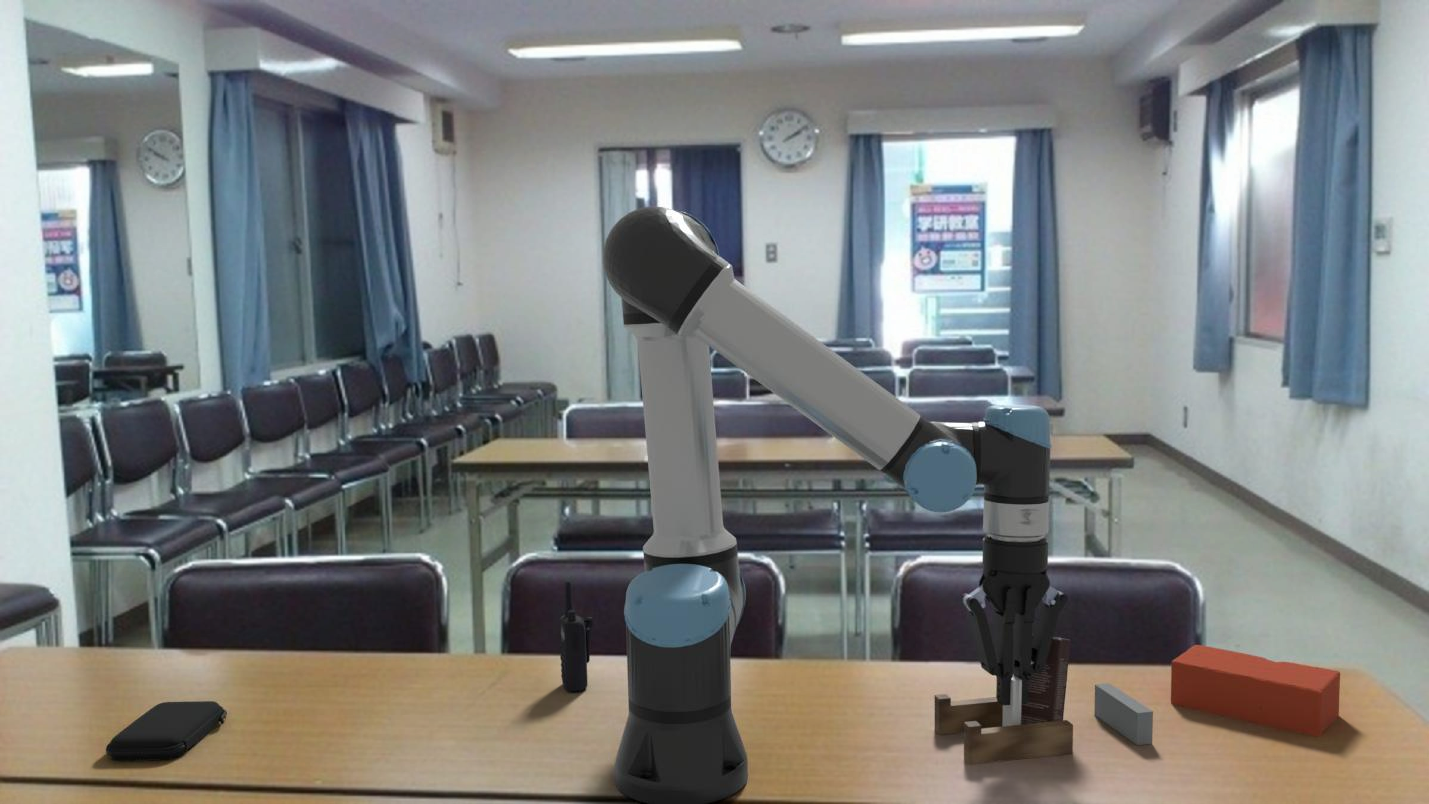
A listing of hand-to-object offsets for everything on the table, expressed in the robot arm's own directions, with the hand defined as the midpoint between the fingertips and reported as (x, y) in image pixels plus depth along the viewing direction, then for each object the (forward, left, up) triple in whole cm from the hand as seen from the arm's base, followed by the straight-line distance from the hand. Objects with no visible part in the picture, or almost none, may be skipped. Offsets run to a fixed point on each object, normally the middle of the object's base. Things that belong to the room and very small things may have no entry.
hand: (1011, 730), depth 141 cm
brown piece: (-1, +1, -2) cm, 2 cm away
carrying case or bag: (-101, +27, -3) cm, 105 cm away
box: (+3, +1, -2) cm, 4 cm away
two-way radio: (-49, +33, -2) cm, 59 cm away
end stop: (+15, +1, -2) cm, 16 cm away
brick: (+35, +3, -2) cm, 35 cm away
